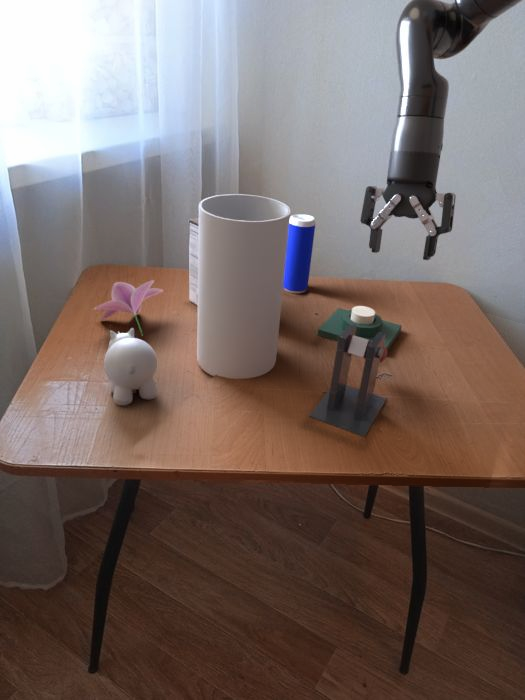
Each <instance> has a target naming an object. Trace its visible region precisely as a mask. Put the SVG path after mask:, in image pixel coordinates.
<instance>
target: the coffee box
mask: <svg viewBox="0 0 525 700" xmlns="http://www.w3.org/2000/svg"><path fill="white" fill-rule="evenodd" d="M198 233H199V217H195V218H190V219H188V260H189V261H188V262H189V263H188V264H189V265H188V266H189V268H188V269H189V270H188V271H189V272H188V274H189V277H188V279H189V280H188V281H189V282H188V284H189V285H188V287H189V288H188V289H189V290H188V291H189V301H190V302H191V303H193V304H194V305H196V306H198Z"/></svg>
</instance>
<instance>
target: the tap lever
mask: <svg viewBox="0 0 525 700" xmlns="http://www.w3.org/2000/svg"><path fill="white" fill-rule="evenodd" d="M370 343H371V341H370V340H367V339H364V338H361V337H357V336H354V335H353V337H352V340H351V343H350V346H349V349H348V353H350V354H352V355H353V356H356V357H359V358H363V359H364V360H365V359H366V354H367V349H368V345H369V344H370ZM383 349H384V351H383V355H382V357H381V359H380V363H379V364H381V363H383V362H384V361H385V360H386V358H387V355H388V351H387V349H386V347H385V345H384V344H383Z"/></svg>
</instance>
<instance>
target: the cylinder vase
mask: <svg viewBox="0 0 525 700" xmlns="http://www.w3.org/2000/svg"><path fill="white" fill-rule="evenodd" d="M290 217H291V208H290V207H289V205H287V203H284V202H282V201H279V200H277V199H274V198H272V197H267V196H263V195H256V194H255V195H254V194H245V193H244V194H243V193H232V194H231V193H229V194H228V193H227V194H226V193H225V194H218V195H213V196H209V197H206V198H204V199H201V201H199V202H198V218H199V233H198V305H197V316H196V317H197V321H196V323H197V324H196V325H197V326H196V327H197V328H196V331H197V332H196V335H197V336H196V360H197V363H198V365H199V367H200V368H201V369H202V370H203V371H204V372H205V373H207V374H208V375H210V376H212V377H216V376H218V377H221V378H227V379H235V380H236V379H237V380H243V379H244V380H245V379H246V380H247V379H253V378H256V377H261V376H263V375H265V374H267V373H268V372H270V371H271V370H272V369H273V368H274V367H275V365H276V361H277V354H278V353H277V352H278V343H279V335H280V334H279V333H280V332H279V331H280V323H281V311H282V302H283V292H284V288H283V283H284V272H285V262H286V252H287V242H288V231H289V221H290Z"/></svg>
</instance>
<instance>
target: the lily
mask: <svg viewBox="0 0 525 700" xmlns="http://www.w3.org/2000/svg"><path fill="white" fill-rule="evenodd" d="M154 283H155V279H152V280H149V281H147V282H145V283H143V284H140V285H139V286H138V287H137V288H136V287H135V286H133V284H130V283H128V282H124V281H116V282H114V283H113V285H112V287H111V300H108V301H105V302H103V303H101V304H98V305H97V306H96V307H94V308H92V310H93V311H102V310H103V313H102V315H101V317H100V321H101V322H104V321H105V320H107V319H108V318H107V317H109V318H110V317H112V316H114V315H116V314H118V313H120V312H123V313H129V314H133V316H134V319H135V322H136V324H137V327H138V329H139V333H140V335H141V337H143V336H144V333H143V330H142V328H141V325H140V323H139V319H138V317H137V316H138V315H139V314H140V313H141V310H142V302H144V301H145V300H147V299H149V298H152V297H153V296H156V295H159V294H161V293H163V292H164V291H165V289H163V288H157V287H152V285H153V284H154ZM138 312H140V313H138ZM103 318H106V319H103ZM101 319H103V320H101ZM141 333H143V334H141Z"/></svg>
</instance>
